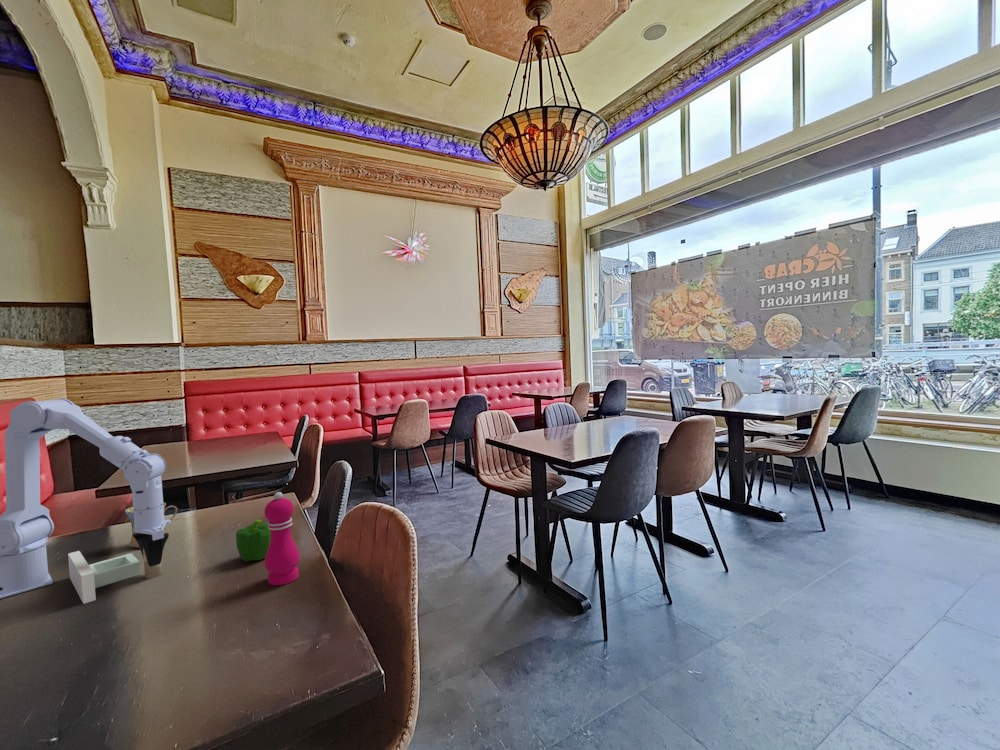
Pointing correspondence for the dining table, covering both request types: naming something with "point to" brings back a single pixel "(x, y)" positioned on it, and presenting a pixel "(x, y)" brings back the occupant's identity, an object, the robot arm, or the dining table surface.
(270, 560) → the pepper mill
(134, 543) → the mug
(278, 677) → the dining table surface
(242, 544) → the bell pepper
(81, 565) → the wall
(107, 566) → the socket block
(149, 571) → the dowel
